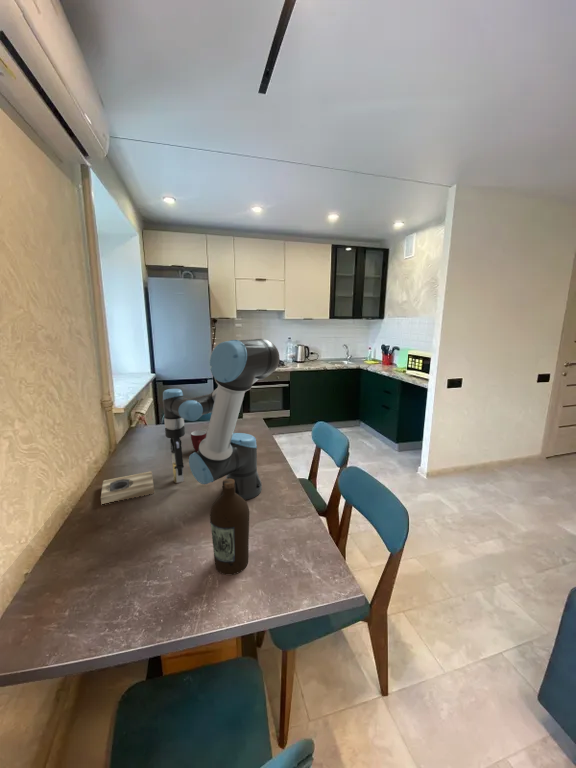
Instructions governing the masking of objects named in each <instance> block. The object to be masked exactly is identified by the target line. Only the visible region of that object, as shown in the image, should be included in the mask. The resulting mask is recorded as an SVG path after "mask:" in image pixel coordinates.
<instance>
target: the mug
mask: <svg viewBox="0 0 576 768" xmlns="http://www.w3.org/2000/svg"><path fill="white" fill-rule="evenodd" d="M206 434H207V430H204V429H201V430H200V429H199V430H198V429H196V430H194V431H191V433H190V438H191V439H190V441H191V444H192V447H193V450H194V452H197V451H198V449H199V444H200V442H201V441H202V440H203V439H205V438H206Z"/></svg>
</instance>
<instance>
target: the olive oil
mask: <svg viewBox="0 0 576 768" xmlns="http://www.w3.org/2000/svg"><path fill="white" fill-rule="evenodd" d="M210 508H211V509H210V511H209V512H210V513H209V524H210V528H211V529H210V530H211V539H212V548H213V558H214V566H215V569H216V571H217V570H218V571H217V572H219V573H220V572H221V573H220V574H222V573H223V574H222V575H226V574H232V575H235V574H234V573H236V574H238V573H237V572H239V573H240V571H241V570H242V571H244V569H245V568H246V567H247V566H248V564H249V551H250V550H249V548H250V546H249V543H250V541H249V539H250V538H249V537H250V508H249V505H248V503H247V500H244V499H243V498H242V497H241V496H239V495H238V494H236V493H235V481H234V479H226V478H225V479H224V480H222V494H221V495H220V496H219V497H218V498H217V499H216V500H215V501H214V503H213V504H212V506H211V507H210ZM242 571H241V572H242Z"/></svg>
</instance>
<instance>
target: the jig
mask: <svg viewBox="0 0 576 768" xmlns="http://www.w3.org/2000/svg"><path fill="white" fill-rule="evenodd" d="M153 493H154V494H155V485H154V478H153V471H147V472H146V471H145V472H140V473H135V474H131V475H125V476H120V477H115V478H110V479H104V480H103V481H102V486H101V494H100V502H101V503H100V505H102V504H104V503H109V502H114V501H118V502H120V501H119V500H123V501H125V500H124V499H127V500H130V499H129V498H132V499H135V498H134V497H136V498H139V496H141V497H144V495H145V496H150V495H154V494H153ZM149 494H150V495H149ZM114 503H115V502H114ZM109 504H110V503H109Z"/></svg>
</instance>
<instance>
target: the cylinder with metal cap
mask: <svg viewBox="0 0 576 768" xmlns="http://www.w3.org/2000/svg"><path fill="white" fill-rule="evenodd" d="M174 467H176V462H174V463H173V467H172V473H173V474H172V475H173V476H172V477H173V483H174V484H181V483H182V482H178V483H177V480H176V469H174Z"/></svg>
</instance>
